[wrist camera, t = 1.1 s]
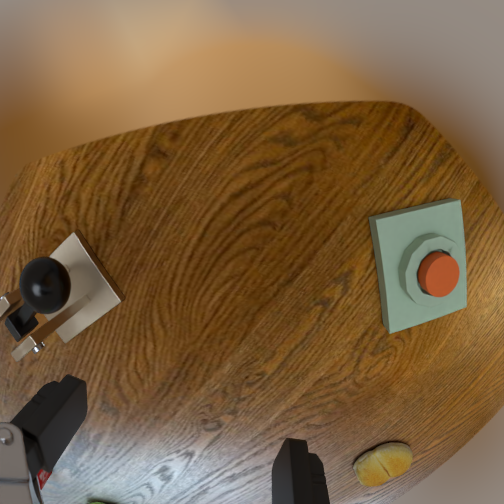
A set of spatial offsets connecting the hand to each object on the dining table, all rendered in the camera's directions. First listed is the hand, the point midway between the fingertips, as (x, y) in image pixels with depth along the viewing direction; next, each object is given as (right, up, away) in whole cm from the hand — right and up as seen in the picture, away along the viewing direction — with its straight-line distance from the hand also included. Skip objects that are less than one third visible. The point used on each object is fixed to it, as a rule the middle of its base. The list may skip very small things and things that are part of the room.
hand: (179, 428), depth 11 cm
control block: (+20, +6, +20) cm, 29 cm away
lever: (-13, +3, +11) cm, 17 cm away
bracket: (-18, +2, +22) cm, 28 cm away
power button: (+20, +5, +17) cm, 27 cm away
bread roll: (+22, -24, +27) cm, 42 cm away
